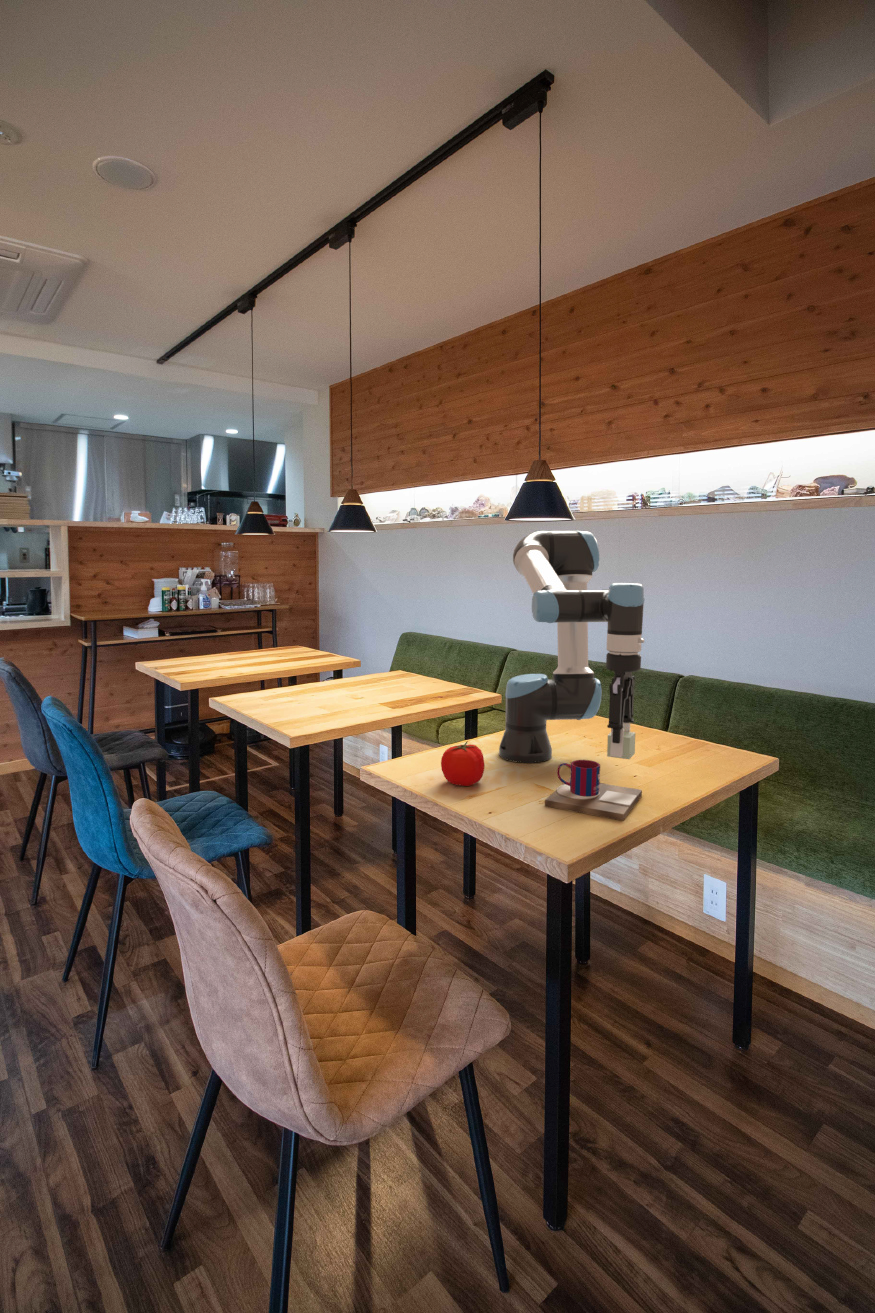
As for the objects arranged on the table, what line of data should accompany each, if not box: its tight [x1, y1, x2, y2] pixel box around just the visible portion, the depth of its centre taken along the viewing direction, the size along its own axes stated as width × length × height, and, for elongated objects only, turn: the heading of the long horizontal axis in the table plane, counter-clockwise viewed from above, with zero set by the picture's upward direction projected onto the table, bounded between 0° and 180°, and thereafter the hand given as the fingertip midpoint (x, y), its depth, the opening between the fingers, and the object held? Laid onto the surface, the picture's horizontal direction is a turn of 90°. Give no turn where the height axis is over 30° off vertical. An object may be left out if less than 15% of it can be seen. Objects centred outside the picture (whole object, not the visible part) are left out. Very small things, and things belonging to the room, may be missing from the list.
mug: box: [556, 759, 601, 796], centre depth 160 cm, size 7×10×7 cm
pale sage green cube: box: [606, 731, 636, 760], centre depth 154 cm, size 5×5×5 cm
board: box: [544, 777, 643, 822], centre depth 159 cm, size 18×18×2 cm
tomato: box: [440, 740, 485, 787], centre depth 171 cm, size 11×13×10 cm
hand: (619, 752), depth 154 cm, fingers closed on pale sage green cube, 5 cm apart
